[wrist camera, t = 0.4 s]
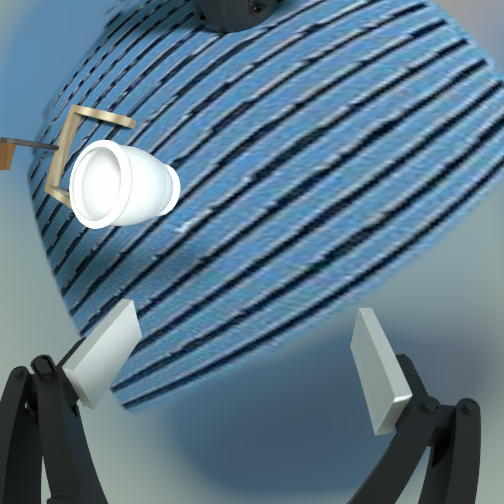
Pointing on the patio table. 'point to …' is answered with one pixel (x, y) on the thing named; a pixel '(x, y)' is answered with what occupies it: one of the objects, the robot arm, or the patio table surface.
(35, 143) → the box
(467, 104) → the patio table surface
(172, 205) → the jar
